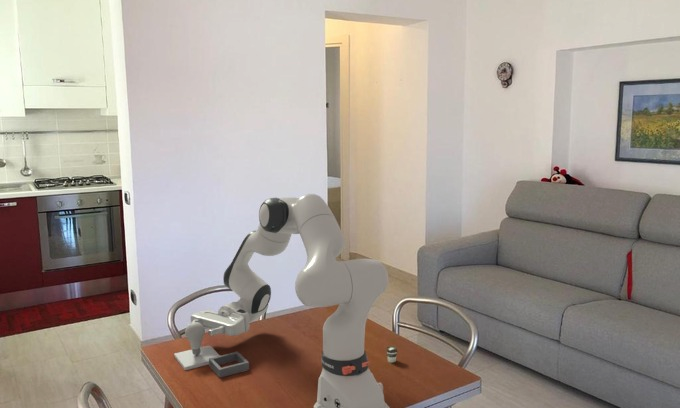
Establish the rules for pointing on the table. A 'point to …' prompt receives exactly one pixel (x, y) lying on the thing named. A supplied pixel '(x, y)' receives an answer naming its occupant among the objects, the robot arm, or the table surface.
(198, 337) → the lightbulb
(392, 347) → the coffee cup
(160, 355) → the table surface
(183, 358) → the mat
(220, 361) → the frame
